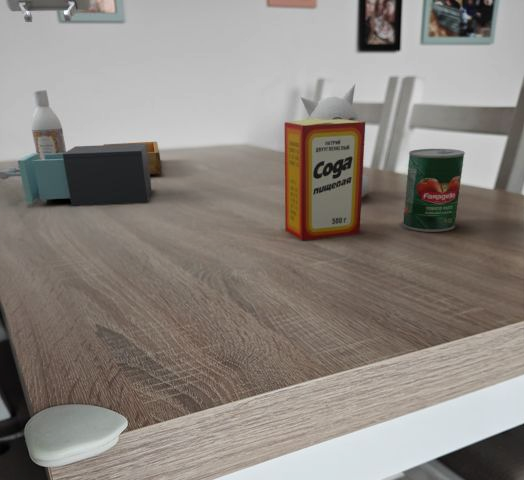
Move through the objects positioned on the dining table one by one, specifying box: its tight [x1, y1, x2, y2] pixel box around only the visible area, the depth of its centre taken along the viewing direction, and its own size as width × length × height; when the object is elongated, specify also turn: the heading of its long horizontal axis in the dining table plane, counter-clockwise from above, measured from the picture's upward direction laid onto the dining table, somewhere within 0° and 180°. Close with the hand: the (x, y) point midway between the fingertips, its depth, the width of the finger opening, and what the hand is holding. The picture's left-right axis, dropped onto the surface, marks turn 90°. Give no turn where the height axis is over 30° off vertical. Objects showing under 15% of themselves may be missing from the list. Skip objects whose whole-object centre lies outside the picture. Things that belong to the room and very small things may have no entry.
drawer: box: [0, 152, 70, 204], centre depth 111 cm, size 18×11×8 cm, turn 96°
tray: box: [103, 141, 163, 175], centre depth 147 cm, size 31×15×6 cm, turn 11°
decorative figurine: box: [300, 83, 371, 198], centre depth 103 cm, size 15×15×20 cm
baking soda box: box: [284, 118, 366, 241], centre depth 81 cm, size 10×6×16 cm
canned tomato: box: [402, 148, 466, 233], centre depth 84 cm, size 8×8×11 cm
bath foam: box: [31, 89, 67, 160], centre depth 134 cm, size 7×7×20 cm
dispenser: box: [63, 144, 152, 207], centre depth 112 cm, size 15×13×10 cm
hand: (47, 19), depth 134 cm, fingers open, 8 cm apart
